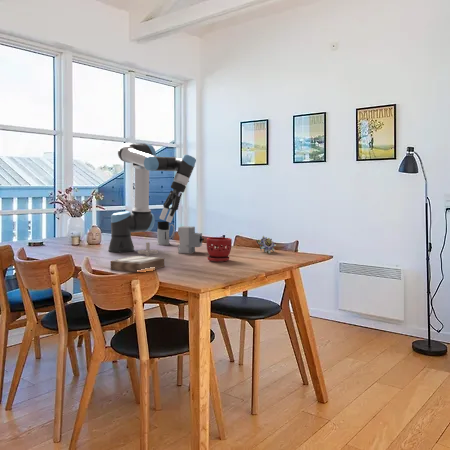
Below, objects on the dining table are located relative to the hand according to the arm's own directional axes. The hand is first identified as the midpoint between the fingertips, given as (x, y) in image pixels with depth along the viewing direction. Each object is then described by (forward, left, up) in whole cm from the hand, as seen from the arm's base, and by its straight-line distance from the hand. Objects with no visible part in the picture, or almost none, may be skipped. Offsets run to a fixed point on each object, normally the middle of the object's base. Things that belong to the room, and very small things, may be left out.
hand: (164, 220), depth 248 cm
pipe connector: (-4, -9, -21) cm, 23 cm away
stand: (+3, -26, -21) cm, 34 cm away
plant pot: (+27, +11, -21) cm, 36 cm away
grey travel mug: (-37, +54, -21) cm, 69 cm away
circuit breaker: (-2, +30, -21) cm, 36 cm away
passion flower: (+37, +49, -21) cm, 65 cm away
